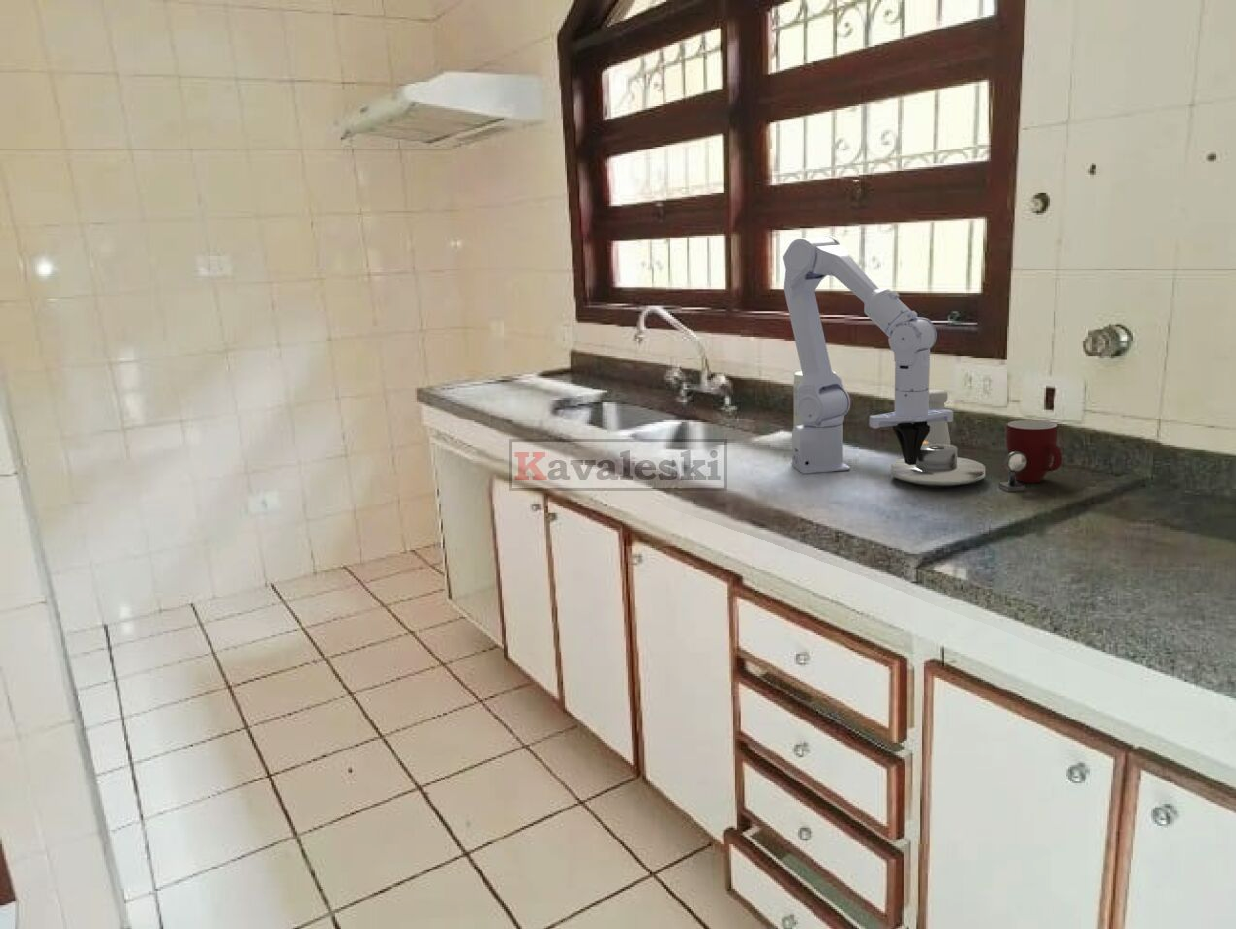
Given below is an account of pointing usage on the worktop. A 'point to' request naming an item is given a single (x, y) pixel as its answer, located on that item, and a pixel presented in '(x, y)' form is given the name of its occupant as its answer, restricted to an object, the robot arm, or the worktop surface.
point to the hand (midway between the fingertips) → (910, 463)
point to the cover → (937, 457)
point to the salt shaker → (938, 429)
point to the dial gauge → (1014, 471)
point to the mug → (1034, 447)
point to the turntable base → (937, 485)
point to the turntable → (939, 473)
